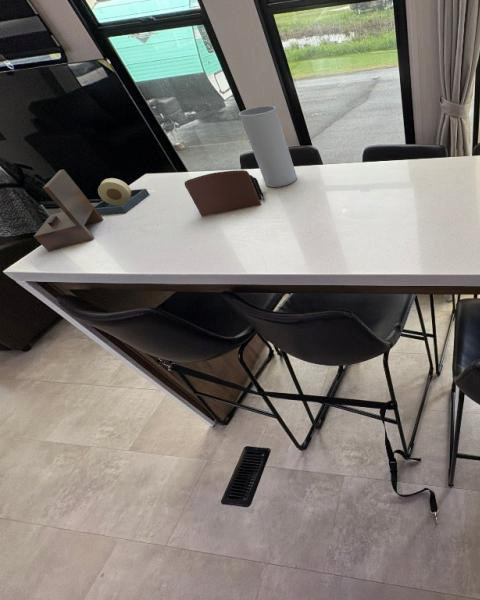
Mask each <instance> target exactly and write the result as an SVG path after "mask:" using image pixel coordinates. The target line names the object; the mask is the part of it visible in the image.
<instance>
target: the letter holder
mask: <svg viewBox="0 0 480 600" xmlns="http://www.w3.org/2000/svg"><path fill="white" fill-rule="evenodd" d="M184 187H185V188H186V190H187V192H188V194H189V196H190V198H191V199H192V202H193V203H194V205H195V207H196V209H197V210H198V213H199V214H200V216H201V217H205V216H210V215H216V214H222V213H226V212H231V211H236V210H243V209H247V208H251V207H257V206H261V205H262V201H261V200H263V201H264V200H265V196H264V193H263V191H262V188H261V186H260V183H259V181H258V178H257V177H254V176H253V175H252V174H250V173H249V171H247V170H245V169H239V170H225V171H224V170H223V171H216V172H212V173H206V174H203V175H199V176H196V177H193V178H190V179H187V180H185V181H184Z"/></svg>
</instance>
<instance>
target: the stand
mask: <svg viewBox="0 0 480 600" xmlns="http://www.w3.org/2000/svg"><path fill="white" fill-rule="evenodd" d="M42 189H43V190H44V192H45V193H46V194H47V195H48V196H49V197H50V198H51V200H53V202H54V203H55V204H56V205H57V206H58V207H59V208H60V209H61V212H56V213H52V214H49V216H48V217H47V218H46V220H45V221H44V222H43V224H42V225H41V226H40V227H39V229H38V230H37V231H36V232H35V234H34V235H33V238H35V240H36V241H37V242H38V243H39V244H41V246H43V248H44V249H45V250H46V251H47V252H53V251H57V250H60V249H64V248H68V247H73V246H76V245H80V244H83V243H87V242H91V241H94V240H95V236H94V235H93V234H92V233H91V231H90V230H89V229H88V228H87V226H88V225H92V224H96V223H101V222H103V221H104V220H105V219H104V218H103V216H102V215H100V214H99V213H98V211H97V210H96V209H95V208H94V206H95V205H93V204H92V203H91V201H90V200H89V199H88V197H87V196H86V195H85V194H84V193H83V191H82V190H81V189H80V187H79V186H78V185H77V184H76V182H75V181H74V180H73V179H72V177H70V175H69V174H68V173H67V171H66V170H65V169H59V170H58V171H57V172H56V173H55V174H54V176H52V178H51V179H50V180H49V181H47V183H46V184H45V185H44V186H43V187H42Z"/></svg>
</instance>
